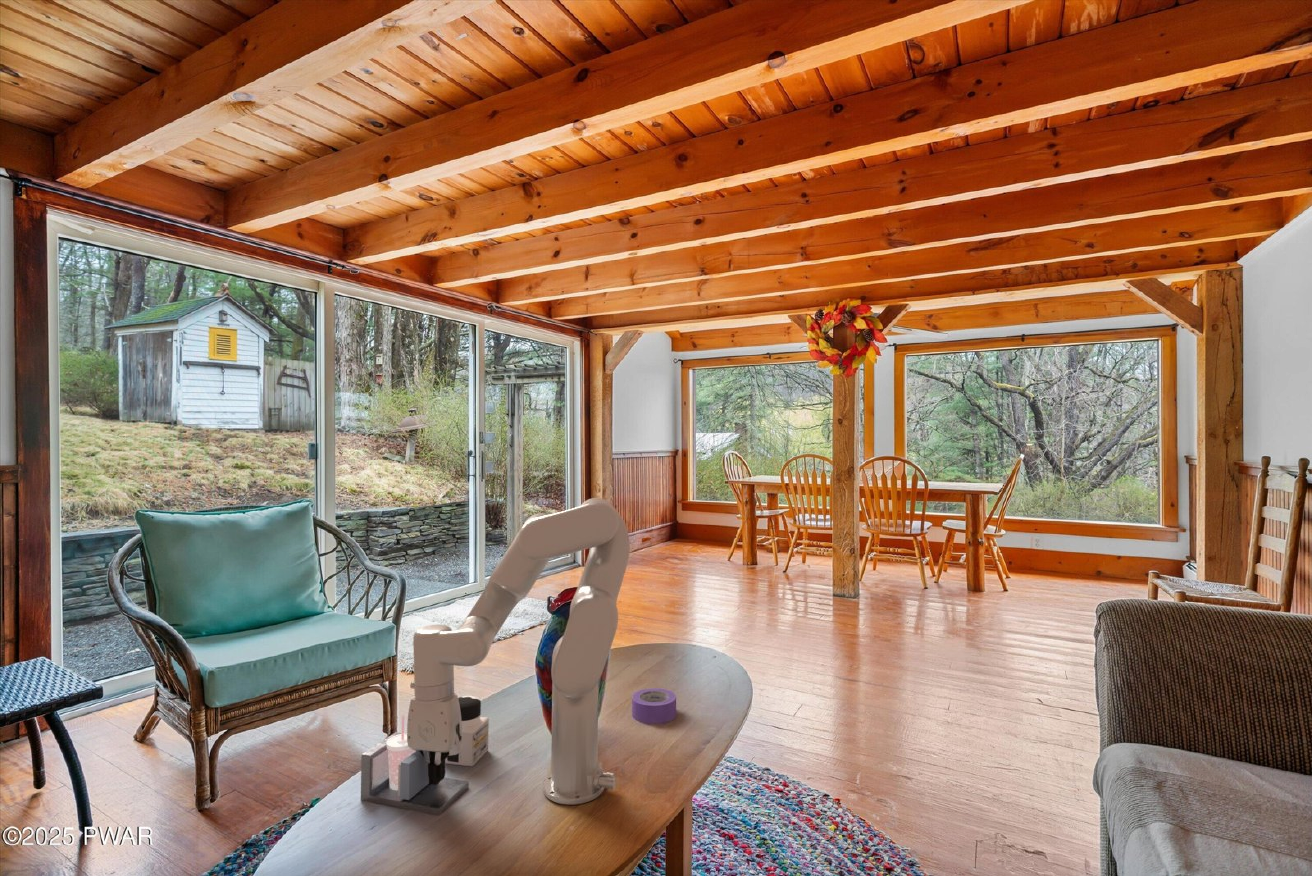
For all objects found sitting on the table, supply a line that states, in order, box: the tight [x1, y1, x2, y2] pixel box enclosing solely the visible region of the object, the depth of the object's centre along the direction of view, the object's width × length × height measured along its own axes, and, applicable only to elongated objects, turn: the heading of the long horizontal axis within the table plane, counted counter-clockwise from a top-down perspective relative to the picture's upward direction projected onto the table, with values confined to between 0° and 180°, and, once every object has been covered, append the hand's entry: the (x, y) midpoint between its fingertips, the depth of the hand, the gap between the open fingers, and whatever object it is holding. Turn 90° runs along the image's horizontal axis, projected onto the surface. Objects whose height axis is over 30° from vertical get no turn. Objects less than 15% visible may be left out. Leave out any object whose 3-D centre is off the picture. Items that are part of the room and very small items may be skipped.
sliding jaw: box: [398, 751, 429, 800], centre depth 124 cm, size 2×9×7 cm, turn 164°
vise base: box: [360, 731, 470, 816], centre depth 124 cm, size 18×10×9 cm, turn 74°
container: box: [445, 695, 490, 767], centre depth 139 cm, size 8×8×13 cm
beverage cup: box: [386, 714, 416, 790], centre depth 125 cm, size 6×6×14 cm
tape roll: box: [631, 687, 677, 725], centre depth 162 cm, size 12×12×5 cm
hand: (436, 780), depth 123 cm, fingers closed
